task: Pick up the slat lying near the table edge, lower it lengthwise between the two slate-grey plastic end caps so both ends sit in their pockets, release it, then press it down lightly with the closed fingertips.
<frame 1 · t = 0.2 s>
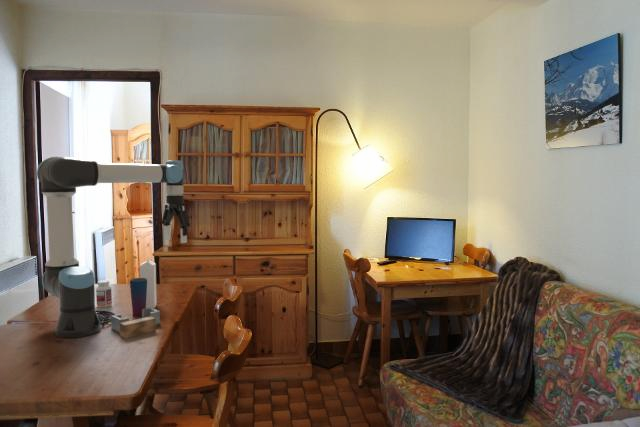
hand: (175, 241, 227), 28 cm above the table, fingers open, 13 cm apart
endcap far: (153, 321, 197), on the table
endcap near arm: (117, 330, 186), on the table
slat: (138, 333, 184), on the table
milk: (148, 307, 219), on the table
cup: (139, 315, 207), on the table
pill bottle: (104, 306, 220), on the table
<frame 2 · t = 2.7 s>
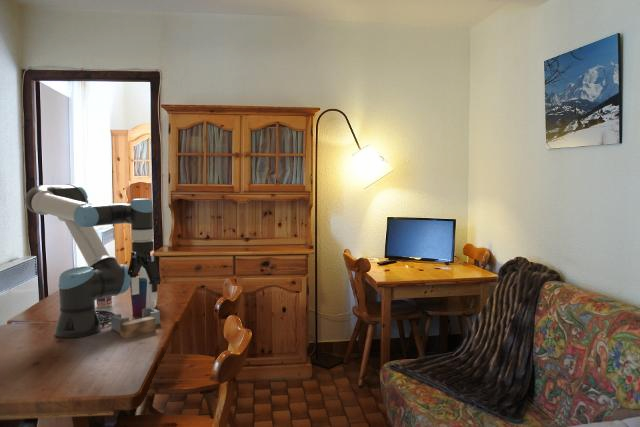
hand: (144, 297, 184), 13 cm above the table, fingers open, 13 cm apart
nothing on the table moved.
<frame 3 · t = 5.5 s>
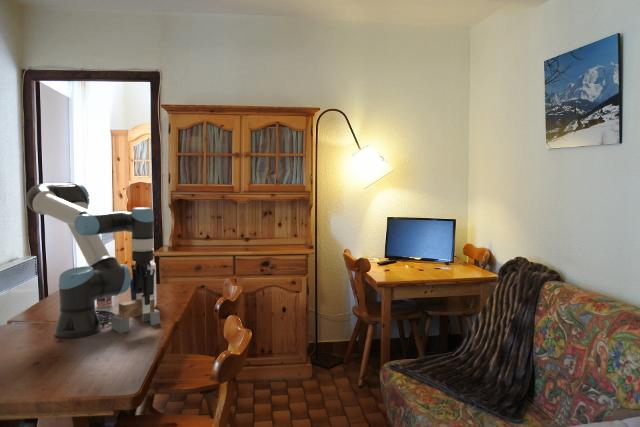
hand: (143, 311, 185), 8 cm above the table, fingers closed on slat, 4 cm apart
slat: (136, 314, 183), point 7 cm above the table, touching gripper
everything else where it was.
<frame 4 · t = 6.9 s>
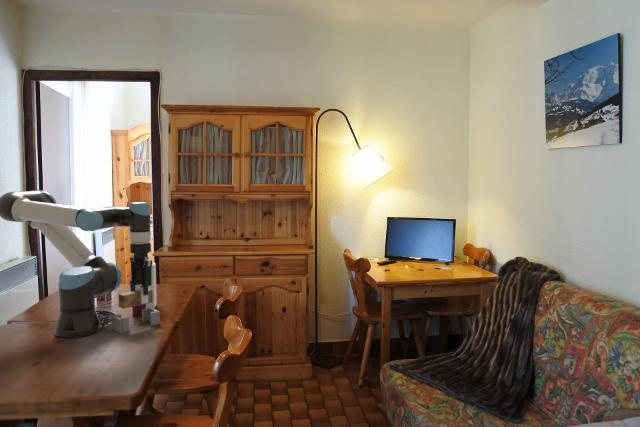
hand: (141, 301, 193), 9 cm above the table, fingers closed on slat, 4 cm apart
slat: (136, 304, 191), point 8 cm above the table, touching gripper
everything else where it was.
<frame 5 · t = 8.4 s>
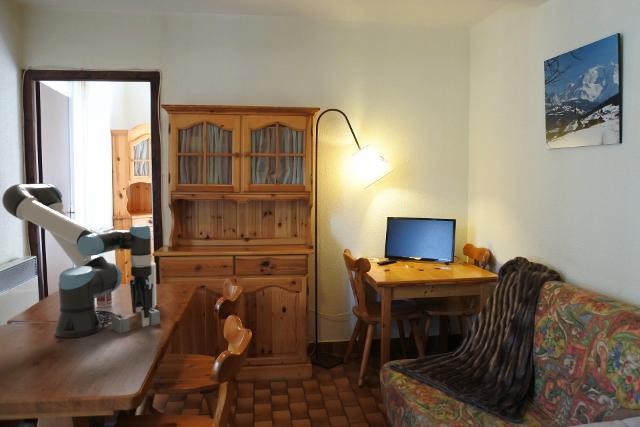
hand: (142, 324, 194), 0 cm above the table, fingers closed on slat, 4 cm apart
slat: (136, 326, 192), on the table, touching gripper
everything else where it was.
when the fingers open (0 cm above the table, at t = 9.9 s): slat stays where it is, on the table.
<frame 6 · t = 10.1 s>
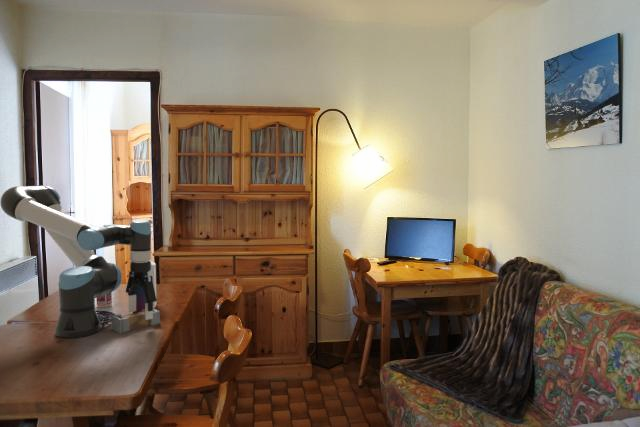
hand: (140, 315, 194), 4 cm above the table, fingers open, 12 cm apart
slat: (136, 326, 192), on the table
everything else where it was.
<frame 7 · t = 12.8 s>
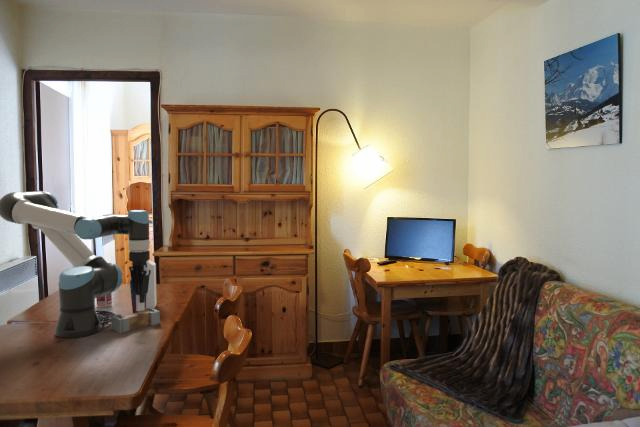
hand: (140, 310, 193), 6 cm above the table, fingers closed
nothing on the table moved.
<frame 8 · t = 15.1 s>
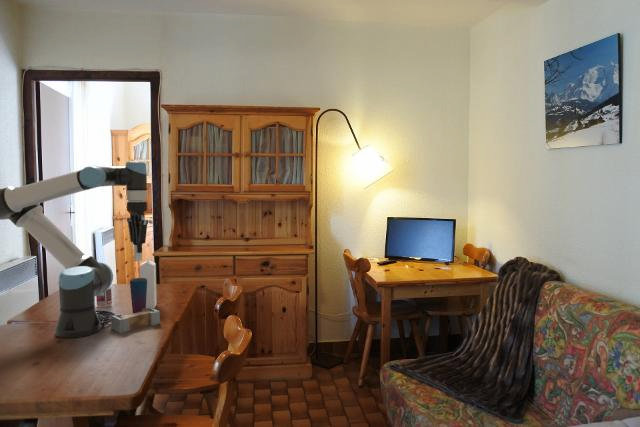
hand: (138, 260, 196), 24 cm above the table, fingers closed
nothing on the table moved.
at the end: slat 0.4 cm from the target spot, on the table; slat tilted 0°; the gripper is holding nothing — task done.
